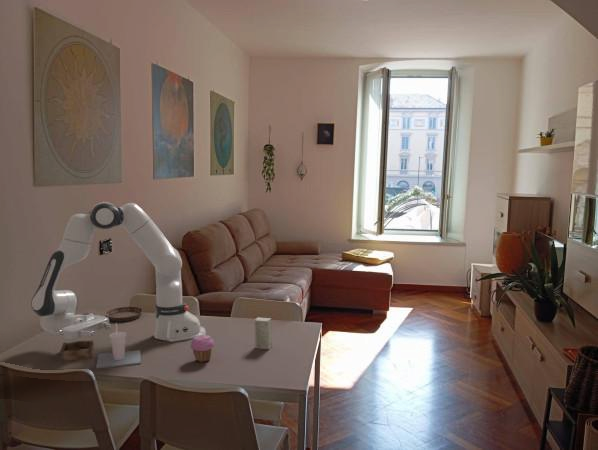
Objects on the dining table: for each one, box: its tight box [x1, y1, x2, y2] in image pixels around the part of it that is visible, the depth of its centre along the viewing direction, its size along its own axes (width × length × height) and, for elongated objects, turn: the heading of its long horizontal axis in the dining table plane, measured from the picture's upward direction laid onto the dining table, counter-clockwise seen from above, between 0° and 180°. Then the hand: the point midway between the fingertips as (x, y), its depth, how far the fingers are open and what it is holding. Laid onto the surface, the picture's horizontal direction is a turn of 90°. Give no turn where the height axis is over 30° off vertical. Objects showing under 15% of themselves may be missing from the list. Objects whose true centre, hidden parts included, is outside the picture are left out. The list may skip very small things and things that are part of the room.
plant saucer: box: [105, 306, 144, 322], centre depth 261 cm, size 18×18×3 cm
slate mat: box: [95, 349, 142, 369], centre depth 205 cm, size 16×14×1 cm
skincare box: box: [254, 316, 273, 350], centre depth 218 cm, size 6×4×12 cm
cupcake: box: [190, 334, 215, 363], centre depth 204 cm, size 9×9×10 cm
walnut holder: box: [59, 339, 95, 362], centre depth 210 cm, size 11×11×4 cm
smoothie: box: [109, 322, 128, 360], centre depth 204 cm, size 6×6×14 cm
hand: (101, 330), depth 207 cm, fingers open, 8 cm apart
